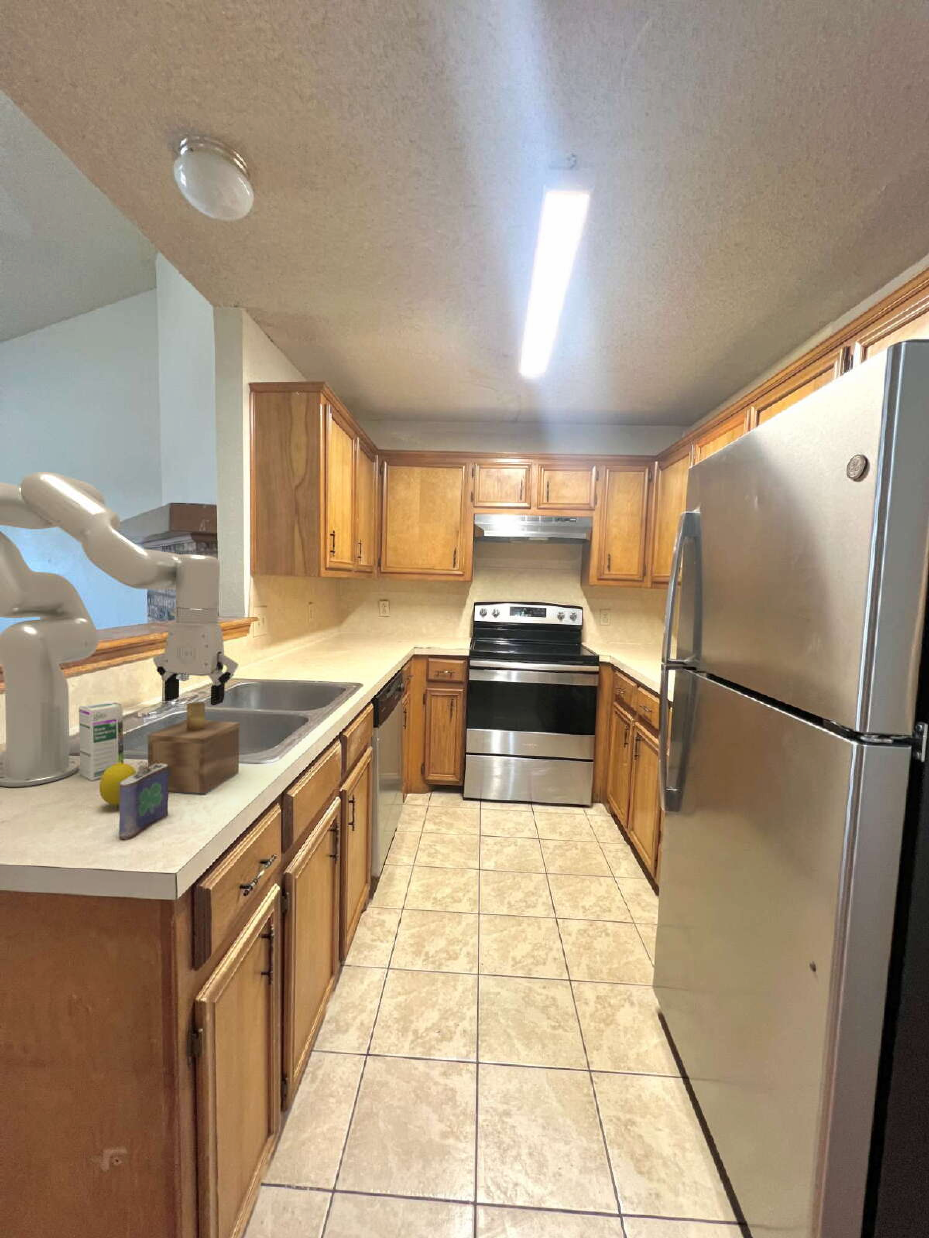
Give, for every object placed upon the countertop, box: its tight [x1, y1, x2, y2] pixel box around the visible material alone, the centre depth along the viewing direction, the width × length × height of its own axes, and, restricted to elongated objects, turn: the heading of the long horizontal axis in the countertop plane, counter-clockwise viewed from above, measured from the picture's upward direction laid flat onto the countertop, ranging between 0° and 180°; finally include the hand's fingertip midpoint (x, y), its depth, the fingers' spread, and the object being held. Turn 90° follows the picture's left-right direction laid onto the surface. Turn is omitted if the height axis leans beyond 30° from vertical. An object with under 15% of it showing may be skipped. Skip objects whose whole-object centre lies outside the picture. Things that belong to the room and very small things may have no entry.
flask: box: [118, 760, 170, 841], centre depth 78 cm, size 9×3×11 cm, turn 173°
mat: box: [168, 771, 239, 796], centre depth 97 cm, size 11×11×1 cm
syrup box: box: [78, 700, 124, 782], centre depth 98 cm, size 6×6×14 cm
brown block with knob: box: [147, 701, 240, 793], centre depth 96 cm, size 12×12×16 cm
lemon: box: [99, 762, 137, 807], centre depth 84 cm, size 6×6×8 cm
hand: (194, 701), depth 96 cm, fingers open, 9 cm apart
